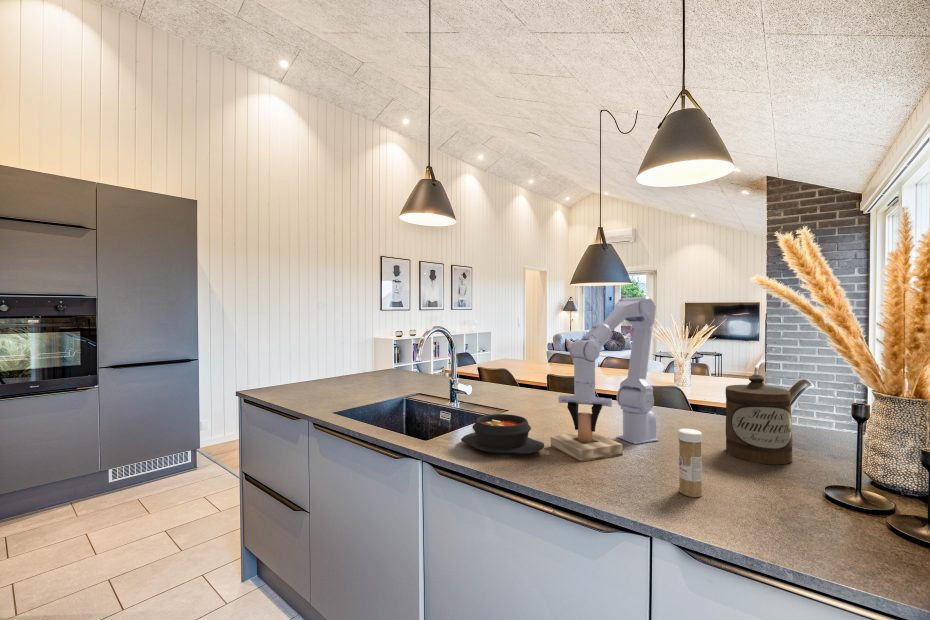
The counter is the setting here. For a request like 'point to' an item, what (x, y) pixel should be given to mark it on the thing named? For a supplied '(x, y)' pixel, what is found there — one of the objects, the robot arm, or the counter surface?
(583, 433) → the terracotta peg
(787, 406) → the wooden container
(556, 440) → the oak socket block
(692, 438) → the sprinkles bottle
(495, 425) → the casserole
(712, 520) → the counter surface
